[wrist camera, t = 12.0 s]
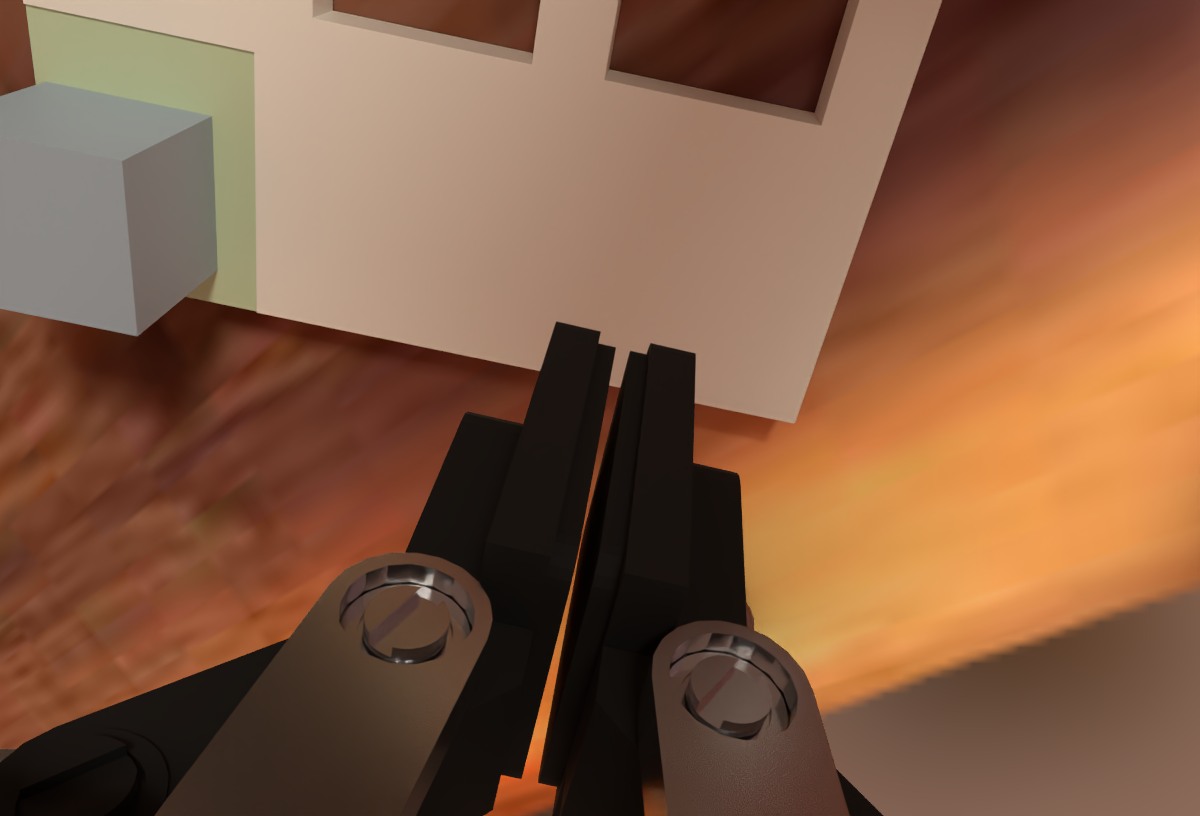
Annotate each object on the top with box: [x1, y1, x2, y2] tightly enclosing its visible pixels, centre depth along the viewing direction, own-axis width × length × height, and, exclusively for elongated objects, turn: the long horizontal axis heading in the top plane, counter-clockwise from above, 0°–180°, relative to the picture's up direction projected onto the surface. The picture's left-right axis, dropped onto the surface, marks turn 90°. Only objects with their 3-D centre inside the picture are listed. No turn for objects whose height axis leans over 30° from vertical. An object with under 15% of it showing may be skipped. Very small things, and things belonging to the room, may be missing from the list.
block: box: [0, 82, 218, 336], centre depth 32 cm, size 6×6×6 cm
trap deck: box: [23, 0, 942, 424], centre depth 32 cm, size 20×30×2 cm, turn 79°
